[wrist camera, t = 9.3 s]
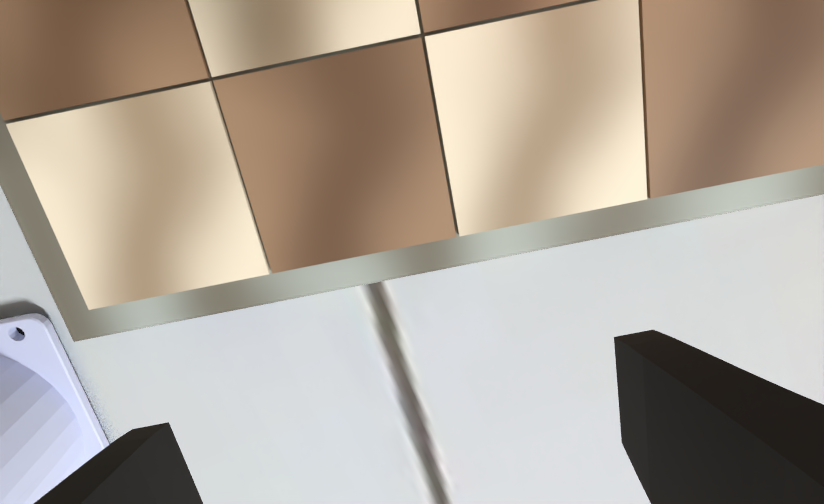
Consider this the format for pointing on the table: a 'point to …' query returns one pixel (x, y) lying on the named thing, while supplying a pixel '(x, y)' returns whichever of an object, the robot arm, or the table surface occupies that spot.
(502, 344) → the table surface
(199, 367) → the table surface
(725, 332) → the table surface
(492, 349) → the table surface
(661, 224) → the board
